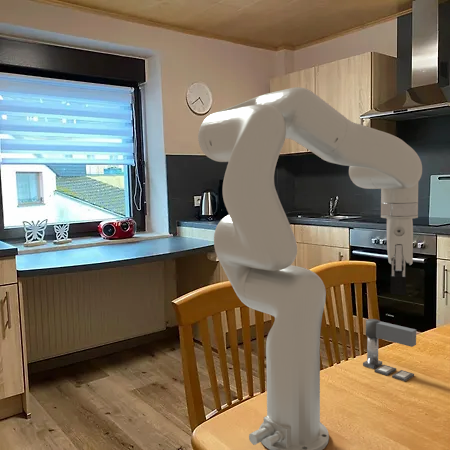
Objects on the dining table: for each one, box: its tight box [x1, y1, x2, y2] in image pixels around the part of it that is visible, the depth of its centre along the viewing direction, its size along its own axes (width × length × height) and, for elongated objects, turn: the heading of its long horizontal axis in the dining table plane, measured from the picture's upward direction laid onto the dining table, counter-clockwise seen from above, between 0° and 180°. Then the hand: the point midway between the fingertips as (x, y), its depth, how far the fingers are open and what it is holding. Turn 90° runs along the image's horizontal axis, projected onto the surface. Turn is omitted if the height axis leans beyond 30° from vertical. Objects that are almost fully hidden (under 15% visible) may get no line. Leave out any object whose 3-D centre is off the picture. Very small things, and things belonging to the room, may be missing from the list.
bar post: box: [362, 336, 383, 370], centre depth 116 cm, size 4×3×7 cm
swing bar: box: [365, 318, 417, 348], centre depth 112 cm, size 3×12×4 cm, turn 42°
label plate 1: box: [374, 364, 397, 377], centre depth 113 cm, size 4×3×1 cm
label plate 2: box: [391, 369, 415, 382], centre depth 110 cm, size 4×3×1 cm
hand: (398, 293), depth 103 cm, fingers closed
